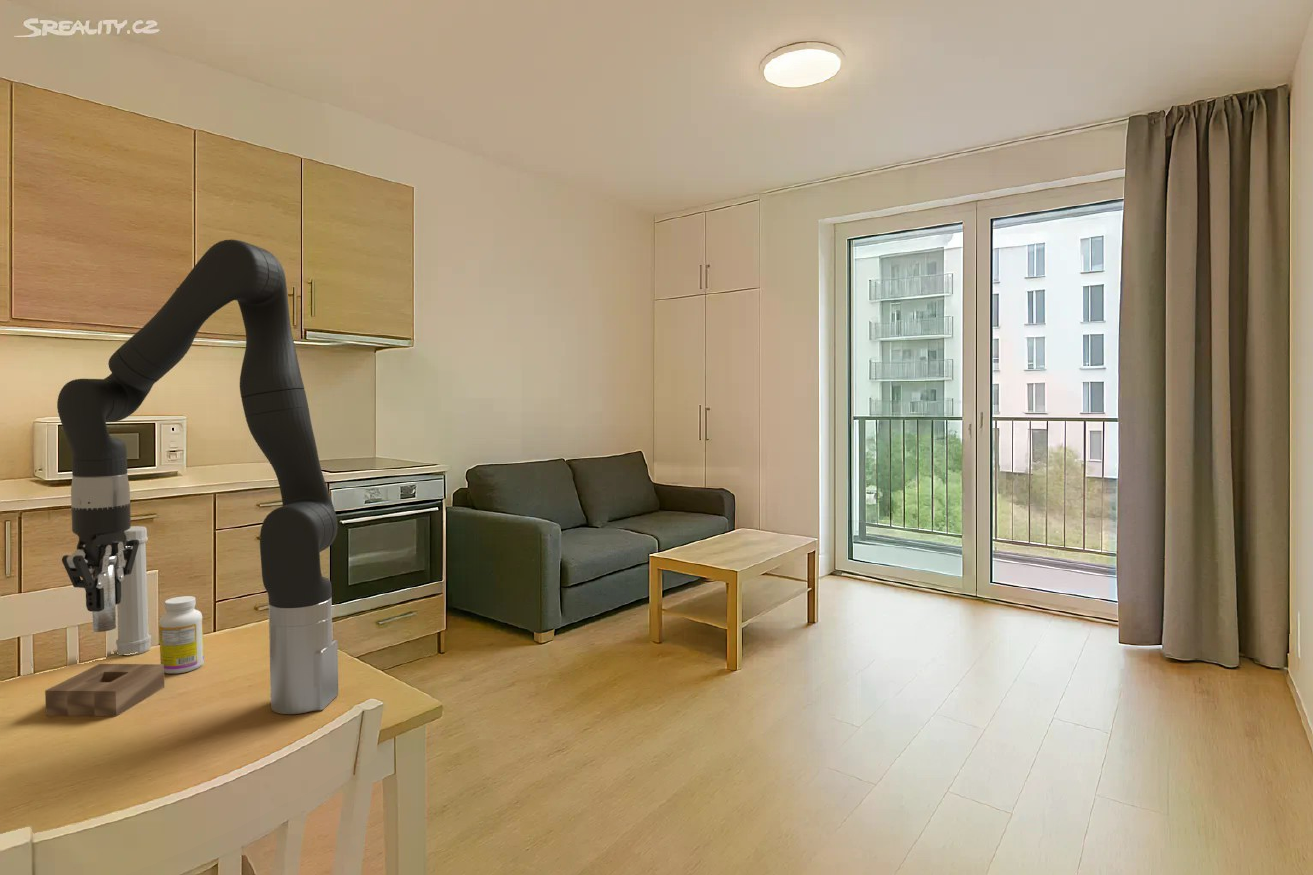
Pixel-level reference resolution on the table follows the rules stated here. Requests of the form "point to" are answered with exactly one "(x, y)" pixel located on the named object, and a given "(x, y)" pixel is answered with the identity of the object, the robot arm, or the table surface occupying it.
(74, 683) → the socket block
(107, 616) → the pin
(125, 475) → the robot arm
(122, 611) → the pipe
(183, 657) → the supplement bottle
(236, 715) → the table surface
